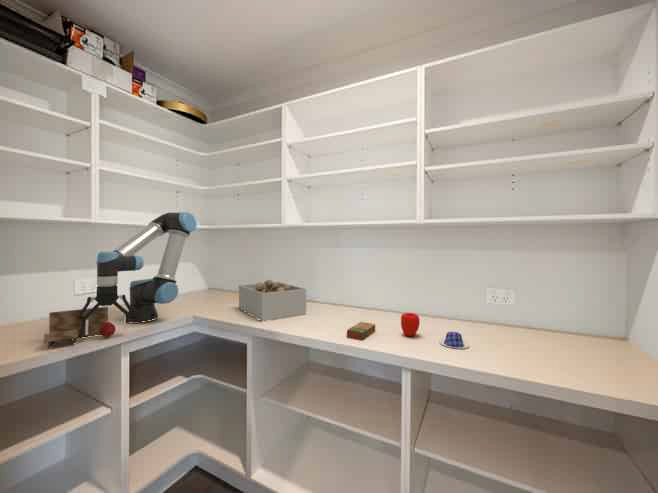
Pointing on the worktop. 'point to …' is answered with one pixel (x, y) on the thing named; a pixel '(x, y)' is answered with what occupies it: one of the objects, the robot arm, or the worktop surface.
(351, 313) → the worktop surface
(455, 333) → the blue plaid bucket hat
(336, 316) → the worktop surface
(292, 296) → the storage crate
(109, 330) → the onion
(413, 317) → the red rounded piece
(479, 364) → the worktop surface
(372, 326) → the carton
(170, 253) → the robot arm
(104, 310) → the wallboard
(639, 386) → the worktop surface
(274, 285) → the lumpy brown heap
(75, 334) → the cleat shelf
